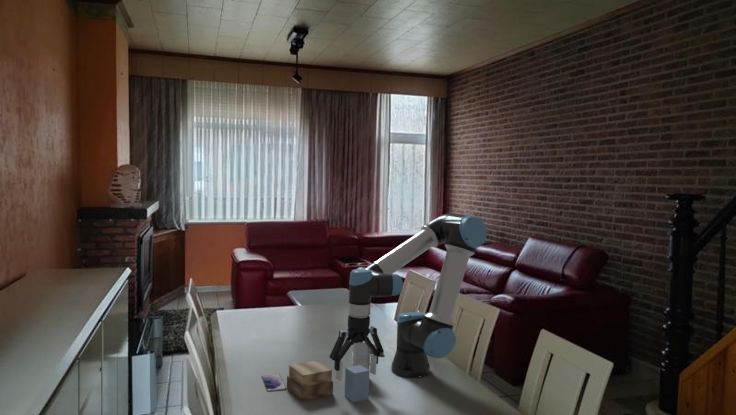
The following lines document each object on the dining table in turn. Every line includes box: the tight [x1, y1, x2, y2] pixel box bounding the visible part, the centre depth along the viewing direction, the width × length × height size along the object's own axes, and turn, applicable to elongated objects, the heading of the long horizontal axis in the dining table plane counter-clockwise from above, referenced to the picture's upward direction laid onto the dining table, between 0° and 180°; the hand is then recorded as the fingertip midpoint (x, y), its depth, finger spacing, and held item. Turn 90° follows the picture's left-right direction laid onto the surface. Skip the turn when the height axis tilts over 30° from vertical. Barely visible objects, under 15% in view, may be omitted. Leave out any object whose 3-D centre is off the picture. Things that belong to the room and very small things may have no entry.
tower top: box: [288, 360, 333, 387], centre depth 185 cm, size 11×11×4 cm
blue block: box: [344, 365, 370, 404], centre depth 181 cm, size 6×6×10 cm
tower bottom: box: [286, 375, 334, 402], centre depth 185 cm, size 12×12×5 cm
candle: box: [351, 341, 371, 370], centre depth 198 cm, size 7×7×15 cm
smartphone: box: [261, 373, 287, 393], centre depth 192 cm, size 7×1×15 cm
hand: (356, 376), depth 181 cm, fingers open, 13 cm apart
